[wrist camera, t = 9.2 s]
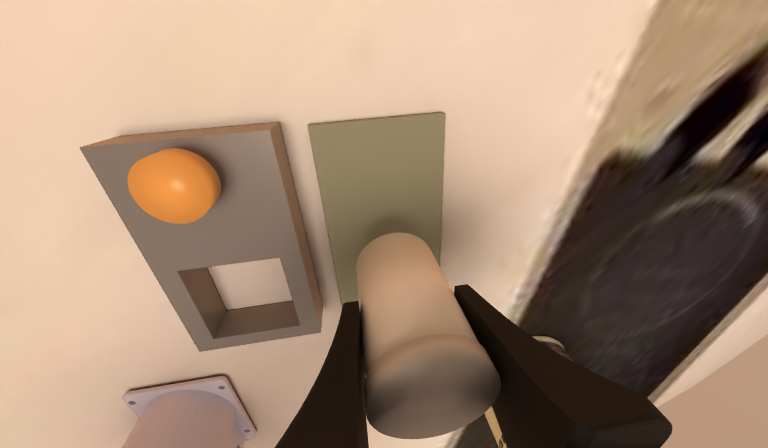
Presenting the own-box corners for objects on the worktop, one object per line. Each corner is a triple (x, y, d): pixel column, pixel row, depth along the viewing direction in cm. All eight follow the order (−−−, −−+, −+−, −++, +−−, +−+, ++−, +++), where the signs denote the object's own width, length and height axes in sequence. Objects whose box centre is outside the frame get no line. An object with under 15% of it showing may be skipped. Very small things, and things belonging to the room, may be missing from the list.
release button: (244, 189, 16) (221, 219, 12) (188, 195, 15) (149, 227, 12) (226, 134, 14) (194, 151, 11) (163, 140, 14) (112, 159, 11)
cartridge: (433, 291, 17) (491, 425, 11) (358, 302, 17) (371, 448, 10) (435, 225, 15) (511, 345, 8) (349, 236, 14) (359, 370, 8)
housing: (322, 305, 21) (320, 332, 19) (214, 322, 21) (199, 351, 19) (279, 121, 15) (269, 130, 13) (119, 136, 14) (79, 147, 12)
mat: (435, 305, 23) (438, 310, 23) (345, 319, 22) (345, 325, 22) (441, 111, 16) (445, 113, 15) (308, 124, 15) (307, 125, 15)
